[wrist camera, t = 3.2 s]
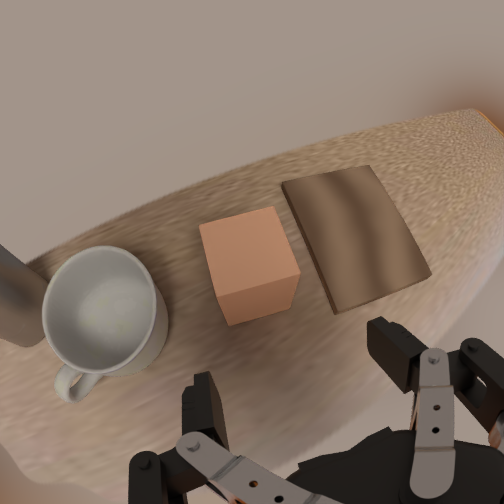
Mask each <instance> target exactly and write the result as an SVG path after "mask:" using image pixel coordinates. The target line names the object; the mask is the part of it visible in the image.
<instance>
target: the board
mask: <svg viewBox="0 0 504 504" xmlns="http://www.w3.org/2000/svg"><path fill="white" fill-rule="evenodd" d="M282 190H283V192H284V195H285V197H286V199H287V201H288V203H289V206H290V208H291V210H292V212H293V215H294V217H295V219H296V222H297V224H298V226H299V228H300V231H301V233H302V235H303V238H304V240H305V242H306V245H307V247H308V249H309V252H310V254H311V257H312V259H313V261H314V264H315V266H316V269H317V271H318V274H319V276H320V278H321V281H322V283H323V286H324V288H325V291H326V293H327V296H328V298H329V301H330V304H331V306H332V309H333V311H334V314H335V315H337V314H339V313H342V312H345V311H348V310H351V309H353V308H356V307H359V306H361V305H364V304H367V303H369V302H372V301H374V300H377V299H380V298H382V297H385V296H387V295H390V294H392V293H395V292H397V291H400V290H402V289H404V288H407V287H409V286H412V285H414V284H416V283H419V282H421V281H423V280H425V279H428V278H429V277H430V276H431V275H432V273H431V271H430V269H429V267H428V265H427V263H426V261H425V259H424V257H423V255H422V253H421V251H420V249H419V247H418V245H417V243H416V241H415V240H414V238H413V236H412V234H411V232H410V230H409V229H408V227H407V225H406V223H405V222H404V220H403V218H402V216H401V215H400V213H399V211H398V210H397V208H396V206H395V205H394V203H393V201H392V200H391V198H390V196H389V195H388V193H387V192H386V190H385V188H384V187H383V185H382V184H381V182H380V181H379V179H378V178H377V176H376V175H375V173H374V172H373V170H372V169H371V167H370V166H369V165H366V166H361V167H355V168H349V169H344V170H339V171H333V172H328V173H323V174H318V175H313V176H308V177H303V178H299V179H294V180H289V181H285V182H282Z"/></svg>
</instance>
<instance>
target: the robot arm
mask: <svg viewBox="0 0 504 504" xmlns="http://www.w3.org/2000/svg"><path fill="white" fill-rule="evenodd" d="M48 285H49V283H48V282H47V281H46V280H45V279H43V278H42V277H41V276H39V275H38V274H37V273H35V272H34V271H33V270H31V269H30V268H29V267H28V266H26V265H25V264H24V263H23V262H21V261H20V260H19V259H17V258H16V257H15V256H14V255H13V254H11V253H10V252H9V251H8V250H6V249H5V248H4V247H3V246H2V245H1V244H0V338H1V339H4V340H6V341H9V342H11V343H14V344H16V345H19V346H22V347H31V346H33V345H35V344H37V343H38V342H39V341H41V340H42V339H43V337H44V336H45V332H44V328H43V322H42V306H43V301H44V296H45V294H46V291H47V287H48ZM367 348H368V351H369V354H370V355H371V357H372V358H373V359H374V360H375V361H376V362H377V363H378V365H379V366H380V367H381V368H382V369H383V370H384V371H385V373H386V374H387V375H388V376H389V377H390V378H391V379H392V381H393V382H394V383H395V384H396V385H397V386H398V387H399V389H400V390H401V391H402V392H403V393H404V394H406V393H407V392H409V391H411V390H412V391H413V392H414V396H413V406H412V415H411V423H410V429H409V430H398V431H393V432H392V430H391V429H390V428H389V427H386V428H384V429H382V430H380V431H378V432H376V433H374V434H372V435H370V436H368V437H366V438H365V439H364V440H362V441H361V442H360V443H358V444H357V445H356V446H354V447H353V448H351V449H350V450H348V451H344V452H339V453H333V454H327V455H321V456H318V457H315V458H313V459H310V460H307V461H304V462H301V463H298V467H299V470H297V471H296V472H294V473H292V474H291V475H290V476H289V477H287V478H286V479H283V478H281V477H279V476H277V475H275V474H274V473H272V472H270V471H268V470H266V469H265V468H263V467H261V466H260V465H258V464H256V463H255V462H253V461H251V460H250V459H248V458H246V457H244V456H241V455H240V456H239V457H237V456H235V455H234V454H232V453H231V452H230V451H229V445H228V440H227V434H226V428H225V421H224V415H223V409H222V403H221V399H220V396H219V393H218V391H217V388H216V386H215V383H214V381H213V379H212V376H211V374H210V372H209V371H207V372H203V373H199V374H194V385H193V386H188V387H186V388H185V390H184V392H183V394H182V437H181V438H180V439H179V440H178V441H177V444H176V447H174V448H173V449H171V450H169V451H167V452H164V453H162V454H159V455H157V454H156V453H154V452H151V451H142V452H139V453H137V454H136V455H135V456H133V458H132V459H131V461H130V463H129V489H128V504H188V501H187V494H186V492H189V491H191V490H194V489H196V488H198V487H200V486H203V485H205V486H206V487H207V488H209V489H210V490H211V491H213V492H214V493H215V494H217V495H218V496H219V497H220V498H222V499H223V500H224V501H226V502H227V503H228V504H504V358H502V357H501V356H500V355H499V354H498V353H496V352H495V351H494V350H493V349H491V348H490V347H489V346H488V345H487V344H485V343H484V342H483V341H482V340H480V339H477V338H468V339H465V340H464V341H463V342H462V343H461V346H460V349H459V350H456V351H452V352H449V353H446V352H445V351H444V350H442V349H439V348H430V349H429V348H428V347H427V346H426V345H424V344H423V343H422V342H421V341H420V340H419V339H417V338H416V337H415V336H414V335H412V334H411V333H410V332H409V331H407V329H406V328H404V327H403V326H402V325H400V324H397V323H395V322H391V323H389V322H388V321H387V320H386V319H384V318H383V317H382V316H380V317H378V318H375V319H373V320H370V321H368V322H367ZM477 376H478V377H479V378H480V379H481V380H482V381H483V382H484V383H485V384H486V386H485V385H484V384H483V383H482V382H480V381H479V380H478V379H477ZM454 394H455V395H456V397H457V398H458V399H459V400H460V401H461V402H462V403H463V404H464V405H465V407H466V408H467V409H468V410H469V411H470V412H471V414H472V415H473V416H474V417H475V418H476V419H477V420H478V422H479V423H480V424H481V425H482V426H483V427H484V429H485V430H486V431H487V432H488V433H489V436H488V441H489V443H490V446H486V445H479V444H474V443H468V442H463V441H458V440H454Z"/></svg>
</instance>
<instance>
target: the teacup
mask: <svg viewBox="0 0 504 504" xmlns="http://www.w3.org/2000/svg"><path fill="white" fill-rule="evenodd" d="M42 322H43V328H44V332H45V335H46V339H47V341H48V343H49V345H50V346H51V348H52V349H53V351H54V352H55V354H56V355H57V356H58V357H59V358H60V359H61V360H62V361H63V362H64V363H65V364H64V365H63V366H62V367H61V368H60V370H59V371H58V373H57V375H56V378H55V382H54V387H55V391H56V393H57V394H58V396H59V397H60V398H61V399H63V400H64V401H66V402H68V403H77V402H79V401H81V400H82V399H83V398H85V397H86V396H87V395H88V393H89V392H90V391H91V390H92V388H93V387H94V386H95V384H96V383H97V382H98V380H99V379H101V378H102V377H103V376H112V377H121V376H128V375H132V374H135V373H137V372H139V371H141V370H143V369H145V368H146V367H147V366H149V365H150V364H151V363H152V362H153V361H154V360H155V359H156V357H157V356H158V355H159V353H160V352H161V350H162V348H163V346H164V344H165V341H166V337H167V332H168V312H167V308H166V304H165V302H164V299H163V297H162V295H161V293H160V291H159V289H158V288H157V286H156V285H155V283H154V281H153V280H152V277H151V275H150V273H149V272H148V270H147V269H146V267H145V266H144V264H143V263H142V262H141V261H140V260H139V259H138V258H137V257H135V256H134V255H133V254H131V253H130V252H128V251H126V250H125V249H121V248H118V247H114V246H95V247H90V248H87V249H84V250H83V251H80V252H78V253H77V254H75V255H73V256H72V257H70V258H69V259H68V260H67V261H65V262H64V263H63V265H61V266H60V268H59V269H58V270H57V271H56V273H55V274H54V276H53V277H52V279H51V281H50V283H49V285H48V287H47V291H46V294H45V296H44V301H43V306H42ZM83 373H84V374H83ZM81 374H83V375H82V377H81V378H80V379H79V381H78V382H77V383H76V384H75V385H74V386H73V387H71V384H72V382H73V380H74V379H75V378H76V377H77V376H79V375H81ZM70 387H71V388H70Z"/></svg>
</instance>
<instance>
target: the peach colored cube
mask: <svg viewBox="0 0 504 504" xmlns="http://www.w3.org/2000/svg"><path fill="white" fill-rule="evenodd" d="M199 228H200V233H201V237H202V241H203V245H204V250H205V254H206V258H207V262H208V266H209V270H210V274H211V278H212V282H213V286H214V290H215V294H216V298H217V300H218V302H219V305H220V307H221V309H222V312H223V314H224V316H225V319H226V321H227V323H228V326H232V325H236V324H239V323H243V322H246V321H250V320H253V319H257V318H260V317H264V316H267V315H271V314H274V313H277V312H281V311H284V310H287V309H290V306H291V303H292V300H293V297H294V294H295V290H296V287H297V284H298V281H299V278H300V274H301V273H300V270H299V268H298V265H297V262H296V260H295V257H294V255H293V252H292V250H291V247H290V245H289V242H288V240H287V237H286V235H285V232H284V230H283V227H282V225H281V222H280V220H279V217H278V215H277V213H276V210H275V208H274V206H271V207H267V208H263V209H259V210H255V211H251V212H247V213H243V214H239V215H235V216H231V217H227V218H223V219H219V220H216V221H212V222H208V223H204V224H201V225H199Z"/></svg>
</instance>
